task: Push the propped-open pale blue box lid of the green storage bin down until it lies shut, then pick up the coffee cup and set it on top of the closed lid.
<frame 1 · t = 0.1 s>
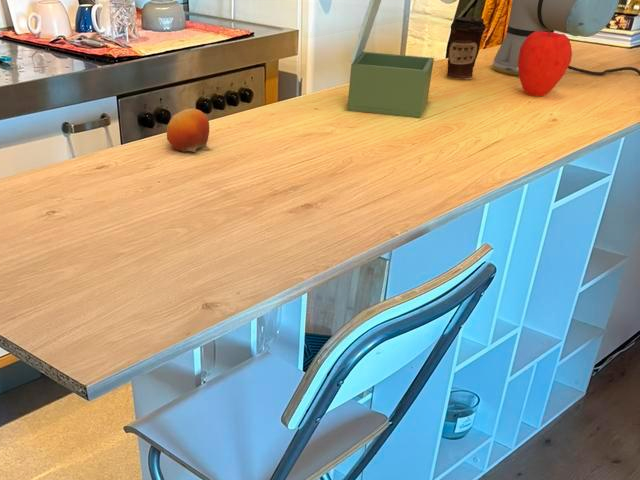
fruit: (188, 149, 153), on the breakfast bar
apple: (536, 95, 194), on the breakfast bar
pale blue box lid: (371, 12, 171), point 18 cm above the breakfast bar, hinge at 75.0°
green storage bin: (387, 106, 181), on the breakfast bar
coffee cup: (459, 78, 205), on the breakfast bar
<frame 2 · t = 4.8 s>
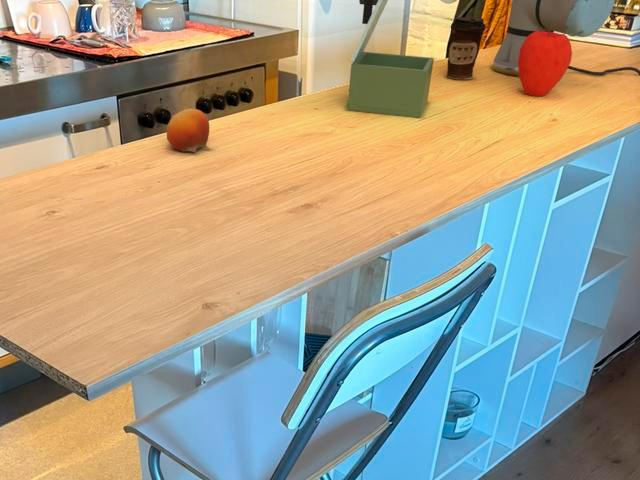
hand: (366, 22, 172), 16 cm above the breakfast bar, tool pointing down, fingers closed
pale blue box lid: (376, 14, 171), point 17 cm above the breakfast bar, hinge at 67.5°, touching gripper
everything else where it was.
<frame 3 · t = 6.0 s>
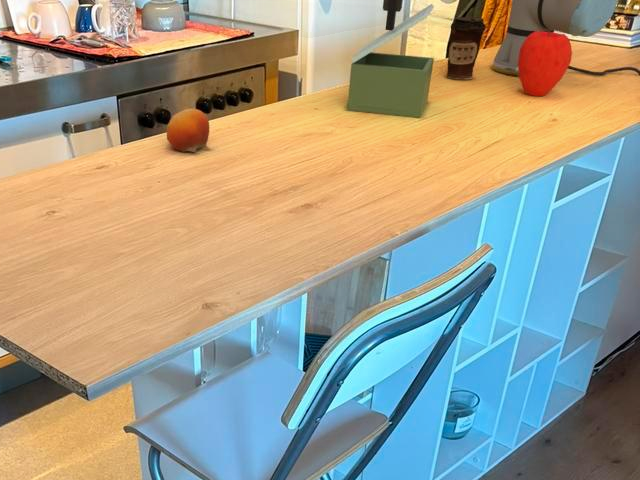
hand: (389, 29, 172), 15 cm above the breakfast bar, tool pointing down, fingers closed
pale blue box lid: (392, 33, 172), point 14 cm above the breakfast bar, hinge at 33.5°, touching gripper
everything else where it was.
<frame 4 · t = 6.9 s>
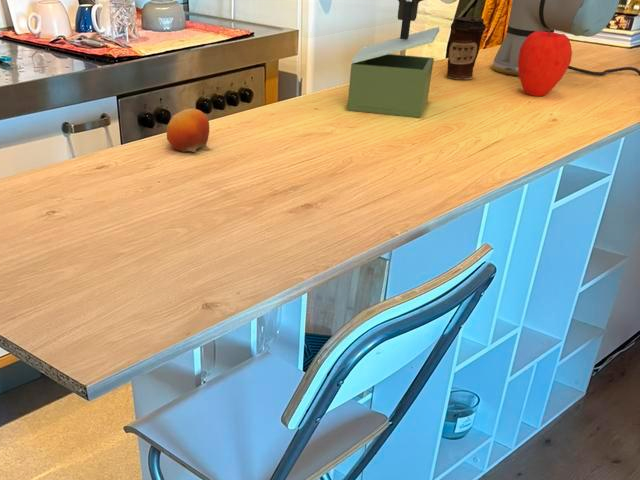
hand: (404, 38, 172), 13 cm above the breakfast bar, tool pointing down, fingers closed
pale blue box lid: (395, 45, 173), point 12 cm above the breakfast bar, hinge at 17.7°, touching gripper
everything else where it was.
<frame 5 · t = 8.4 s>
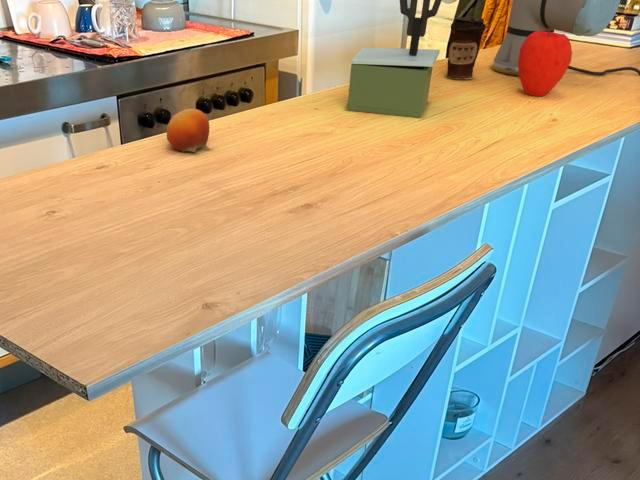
hand: (413, 53, 173), 11 cm above the breakfast bar, tool pointing down, fingers closed
pale blue box lid: (396, 56, 175), point 10 cm above the breakfast bar, hinge at 2.8°, touching gripper
everything else where it was.
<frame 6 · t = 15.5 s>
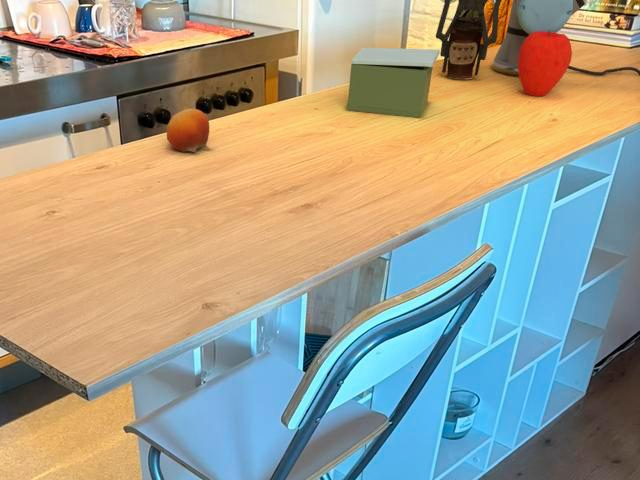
hand: (460, 72, 204), 1 cm above the breakfast bar, tool pointing down, fingers closed on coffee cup, 7 cm apart
pale blue box lid: (396, 56, 175), point 10 cm above the breakfast bar, hinge at 2.8°
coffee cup: (459, 78, 205), on the breakfast bar, touching gripper
everything else where it was.
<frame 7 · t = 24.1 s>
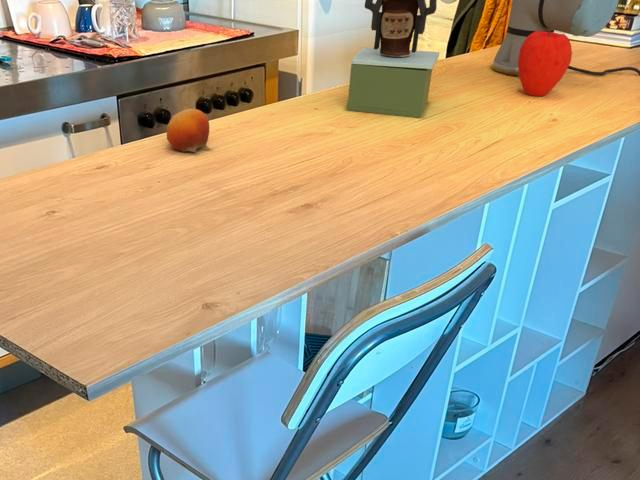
hand: (395, 49, 174), 11 cm above the breakfast bar, tool pointing down, fingers closed on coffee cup, 7 cm apart
pale blue box lid: (396, 57, 175), point 10 cm above the breakfast bar, hinge at 1.2°
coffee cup: (394, 56, 175), point 10 cm above the breakfast bar, touching gripper
everything else where it was.
when the fingers open (11 cm above the breakfast bar, at t = 24.1 s): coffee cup stays where it is, resting on pale blue box lid.
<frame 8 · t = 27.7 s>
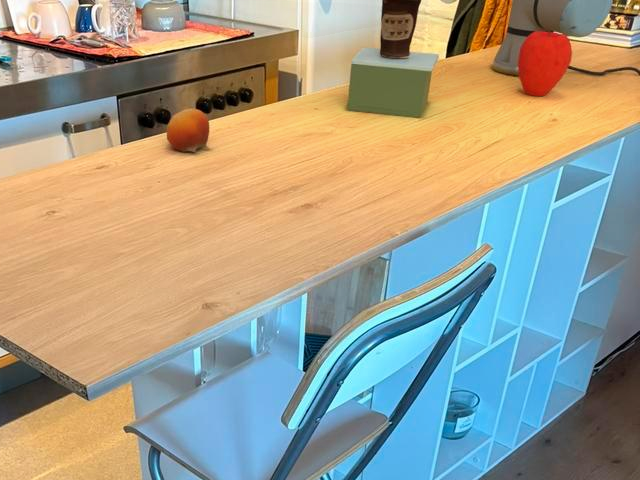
pale blue box lid: (396, 58, 175), point 9 cm above the breakfast bar, hinge at -0.2°, touching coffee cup, green storage bin
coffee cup: (394, 57, 175), point 10 cm above the breakfast bar, touching pale blue box lid
everything else where it was.
at the end: pale blue box lid at +0° (first picture: +75°); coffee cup inside the target area on the green storage bin (0.1 cm from its centre), point 9.6 cm above the green storage bin's base; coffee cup tilted 0° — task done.
